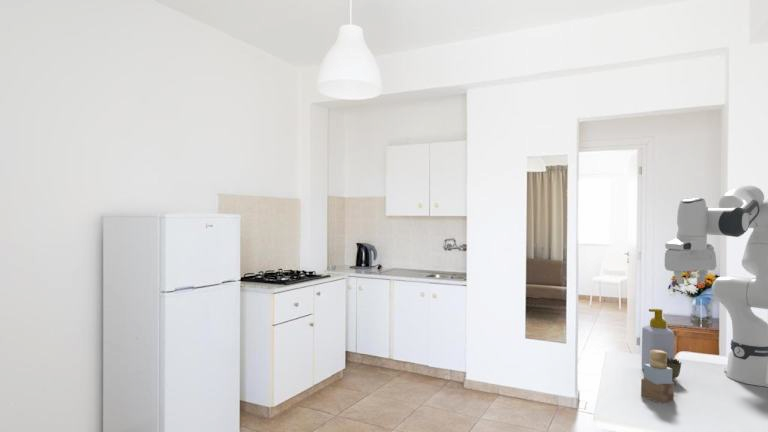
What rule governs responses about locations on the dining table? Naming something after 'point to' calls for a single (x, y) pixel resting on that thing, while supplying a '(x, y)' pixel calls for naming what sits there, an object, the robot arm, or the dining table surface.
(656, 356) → the beech cylinder
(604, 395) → the dining table surface
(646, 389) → the tower base
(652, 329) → the soap bottle
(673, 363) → the cup
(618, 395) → the dining table surface
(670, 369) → the tower top block
